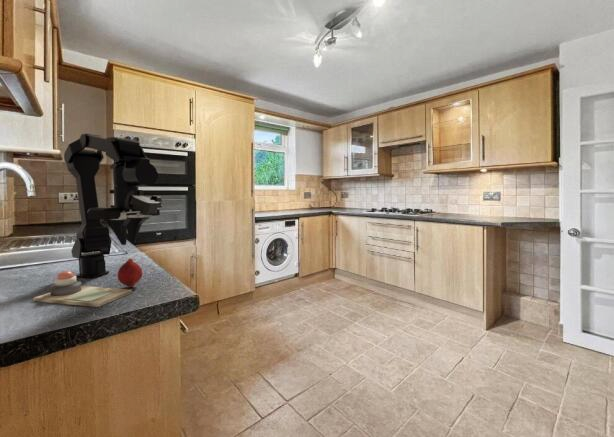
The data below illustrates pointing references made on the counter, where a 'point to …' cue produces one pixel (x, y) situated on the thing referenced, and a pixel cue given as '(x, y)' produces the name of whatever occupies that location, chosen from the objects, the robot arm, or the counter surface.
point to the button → (65, 279)
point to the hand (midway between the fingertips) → (128, 243)
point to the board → (82, 295)
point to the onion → (129, 273)
